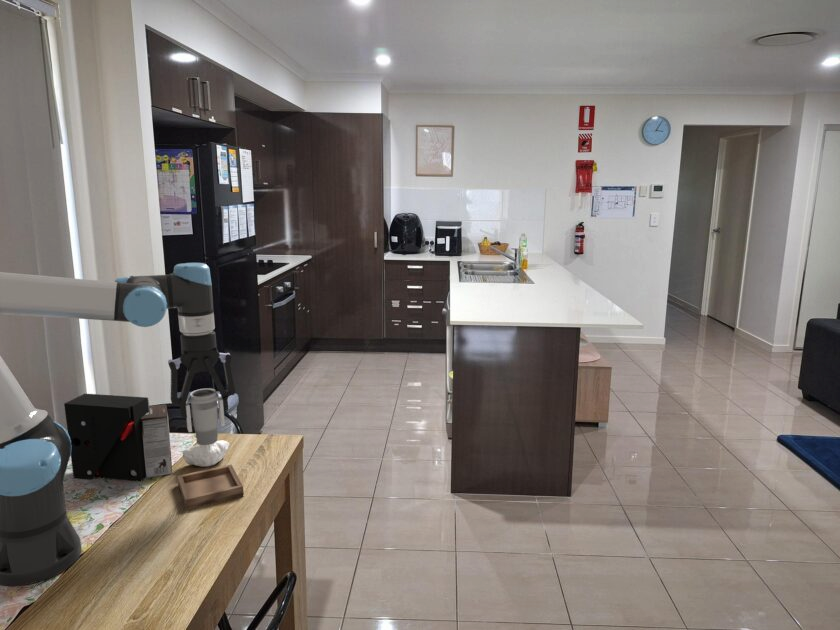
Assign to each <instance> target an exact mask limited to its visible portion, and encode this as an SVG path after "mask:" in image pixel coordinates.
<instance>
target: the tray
mask: <svg viewBox="0 0 840 630" xmlns="http://www.w3.org/2000/svg"><path fill="white" fill-rule="evenodd" d="M177 486H178V488H179V491H180V496H181V498H182V501H183V503H184V508H185V510H190V509H191V510H192V509H195V508H199V507H203V506H208V505H212V504H216V502H217V503H221V502H224V501H229V500H233V499H236V498H237V497H238V498H241V497H240V496H242V497H244V496H245V495H244V493H245V492H244V485H243V483H242V482H241V479H240V477H239V476H238V474H237V472H236V470H235V468H234V467H233V465H232V464H228V465H224V466H218V467H213V468H209V469H208V468H207V469H204V470H199V471H195V472H189V473H185V474H179V475H177ZM243 495H244V496H243Z"/></svg>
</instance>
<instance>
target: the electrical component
mask: <svg viewBox="0 0 840 630" xmlns="http://www.w3.org/2000/svg"><path fill="white" fill-rule="evenodd" d="M63 405H64V414H65V420H66V428H67V429H66V431H67V432H68V434H69V436H70V440H71V445H72V449H71V456H70V460H71V468H72V473H73V474H72V475H73V476H72V477H73V479H80V480H93V479H95V478H96V479H104V480H105V479H106V480H108V479H109V480H118V481H129V482H130V481H131V482H141V481H143V480H145V479H146V470H145V459H144V448H143V437H142V426H141V417H143V416H144V415H145V414H147V413H148V412H149V406H150V399H149V397H145V396H144V397H143V396H142V397H141V396H130V395H128V396H127V395H111V394H100V393H99V394H95V393H83V394H81V395H79V396H77V397H75V398H73V399H70V400H69V401H67V402H64V403H63Z"/></svg>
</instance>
